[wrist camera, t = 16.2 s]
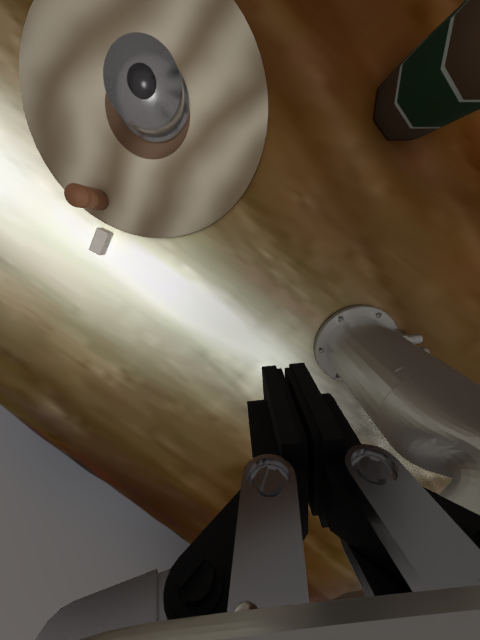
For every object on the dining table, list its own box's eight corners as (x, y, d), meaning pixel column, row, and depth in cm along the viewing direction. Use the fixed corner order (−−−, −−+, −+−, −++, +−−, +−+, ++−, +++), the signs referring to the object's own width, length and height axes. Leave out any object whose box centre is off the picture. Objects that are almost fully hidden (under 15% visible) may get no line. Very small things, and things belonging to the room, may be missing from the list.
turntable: (313, 94, 29) (335, 59, 23) (184, 277, 36) (175, 288, 30) (101, -131, 23) (55, -259, 17) (-8, 139, 30) (-71, 116, 23)
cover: (204, 102, 28) (200, 82, 24) (159, 159, 30) (148, 149, 26) (148, 35, 26) (133, 0, 22) (102, 100, 28) (81, 79, 24)
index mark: (102, 227, 33) (97, 227, 32) (113, 233, 33) (108, 233, 32) (94, 248, 34) (88, 249, 33) (104, 254, 34) (99, 255, 33)
